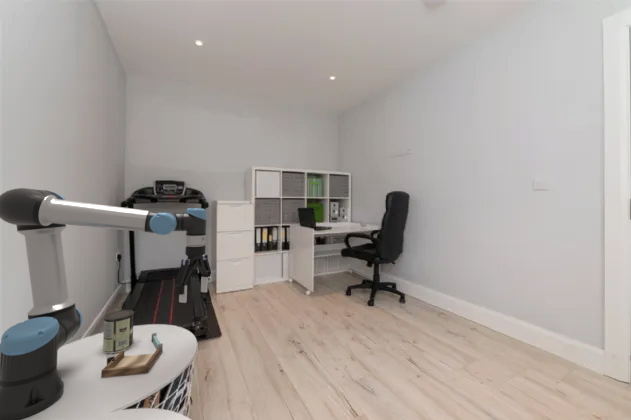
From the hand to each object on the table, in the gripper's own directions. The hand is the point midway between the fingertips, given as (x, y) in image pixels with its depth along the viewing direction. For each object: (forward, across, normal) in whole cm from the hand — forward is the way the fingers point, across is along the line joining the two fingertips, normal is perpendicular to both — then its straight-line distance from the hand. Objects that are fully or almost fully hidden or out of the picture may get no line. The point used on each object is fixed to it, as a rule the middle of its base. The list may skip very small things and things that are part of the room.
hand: (194, 296), depth 107 cm
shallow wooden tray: (+23, -12, +16) cm, 30 cm away
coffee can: (+23, -3, +33) cm, 40 cm away
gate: (+23, +1, +18) cm, 29 cm away
